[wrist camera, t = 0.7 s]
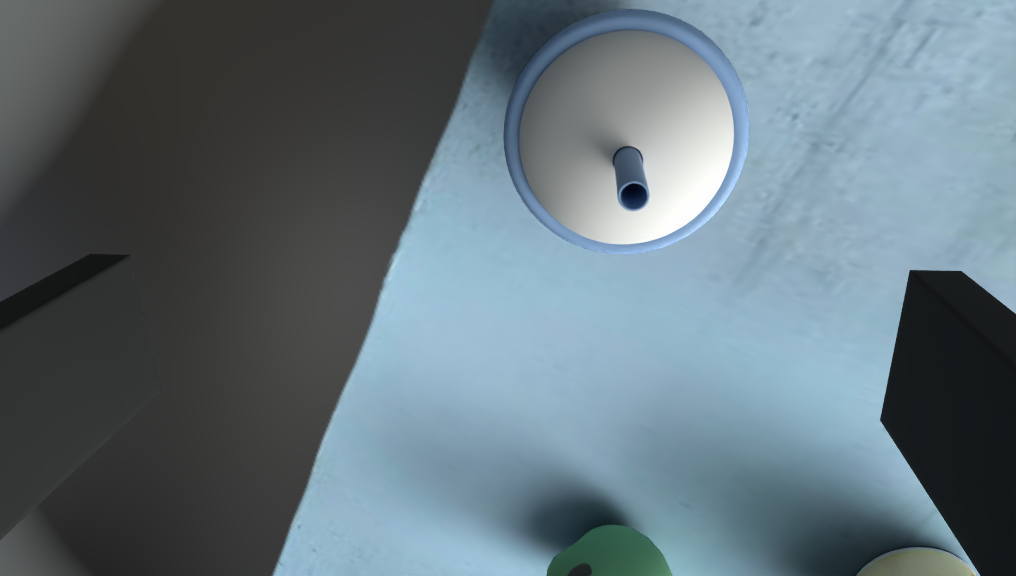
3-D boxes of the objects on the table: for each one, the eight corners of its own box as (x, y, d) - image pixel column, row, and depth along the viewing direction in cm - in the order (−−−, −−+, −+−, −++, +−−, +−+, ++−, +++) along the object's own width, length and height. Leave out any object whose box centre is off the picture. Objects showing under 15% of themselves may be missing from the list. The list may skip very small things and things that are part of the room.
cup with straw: (544, 200, 39) (506, 360, 23) (510, 22, 36) (437, 60, 20) (719, 171, 38) (813, 321, 21) (700, -18, 34) (795, -13, 18)
